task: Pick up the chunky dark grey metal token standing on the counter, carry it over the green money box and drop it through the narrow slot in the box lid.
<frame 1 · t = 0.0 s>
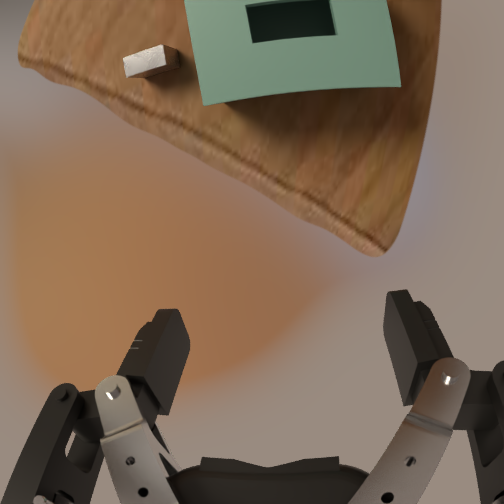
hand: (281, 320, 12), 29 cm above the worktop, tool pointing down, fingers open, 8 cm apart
money box: (289, 37, 30), on the worktop
token: (160, 63, 33), on the worktop
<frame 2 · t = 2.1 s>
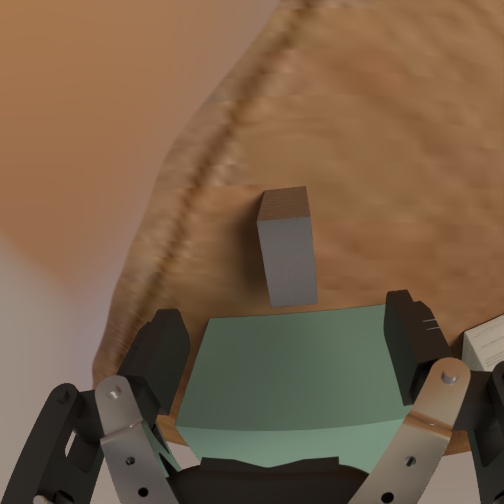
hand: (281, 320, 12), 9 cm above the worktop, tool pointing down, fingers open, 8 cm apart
money box: (306, 385, 27), on the worktop
supplement box: (490, 341, 23), on the worktop
token: (290, 225, 20), on the worktop
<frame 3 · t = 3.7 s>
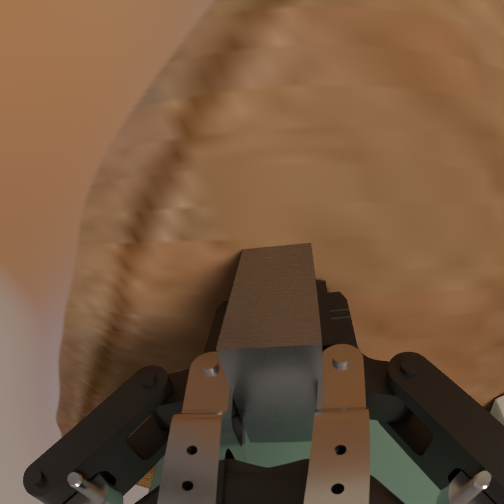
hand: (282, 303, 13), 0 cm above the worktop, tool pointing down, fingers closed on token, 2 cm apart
money box: (302, 460, 20), on the worktop
token: (284, 301, 13), on the worktop, touching gripper
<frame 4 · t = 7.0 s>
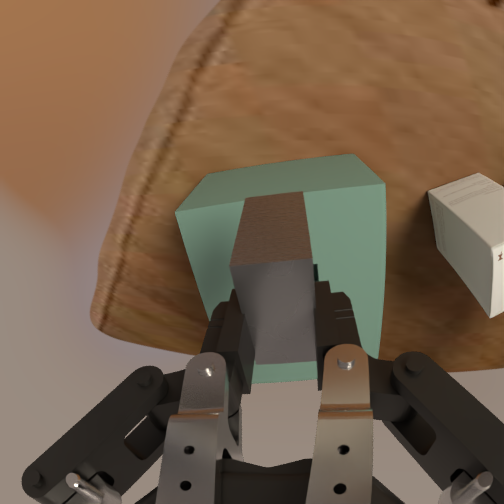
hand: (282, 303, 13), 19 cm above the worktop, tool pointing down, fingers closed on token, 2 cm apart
money box: (292, 247, 32), on the worktop
supplement box: (458, 210, 29), on the worktop
token: (281, 243, 15), point 16 cm above the worktop, tilted 5°, touching gripper
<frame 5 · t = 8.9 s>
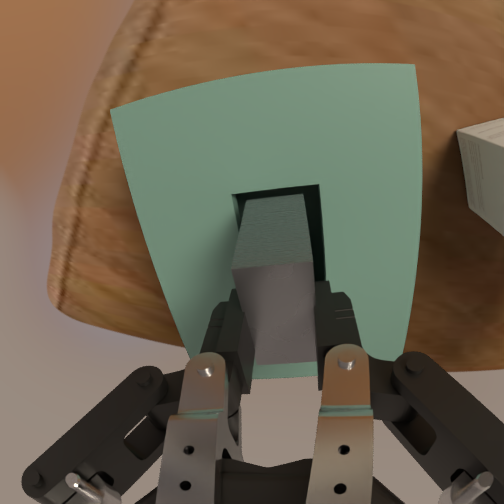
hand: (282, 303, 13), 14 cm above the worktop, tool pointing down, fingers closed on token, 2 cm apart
money box: (285, 196, 24), on the worktop
supplement box: (491, 160, 20), on the worktop
token: (281, 244, 15), point 10 cm above the worktop, tilted 6°, touching gripper
when the fingers open (12 cm above the worktop, at t = 10.3 s): token drops 7 cm, resting on money box.
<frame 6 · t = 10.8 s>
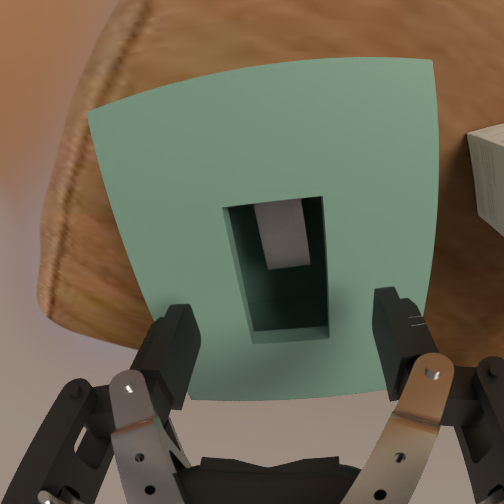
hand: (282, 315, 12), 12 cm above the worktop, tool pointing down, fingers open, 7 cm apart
money box: (284, 204, 23), on the worktop
supplement box: (502, 165, 19), on the worktop
token: (282, 198, 21), point 1 cm above the worktop, touching money box
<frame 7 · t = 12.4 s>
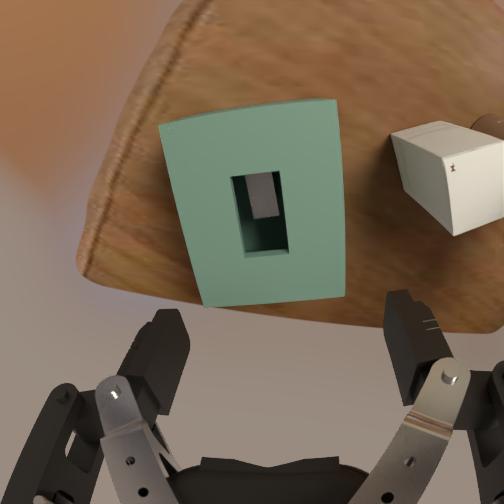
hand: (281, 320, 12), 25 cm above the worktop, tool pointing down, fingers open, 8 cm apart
money box: (265, 183, 35), on the worktop
supplement box: (422, 154, 32), on the worktop
token: (264, 178, 34), point 1 cm above the worktop, touching money box
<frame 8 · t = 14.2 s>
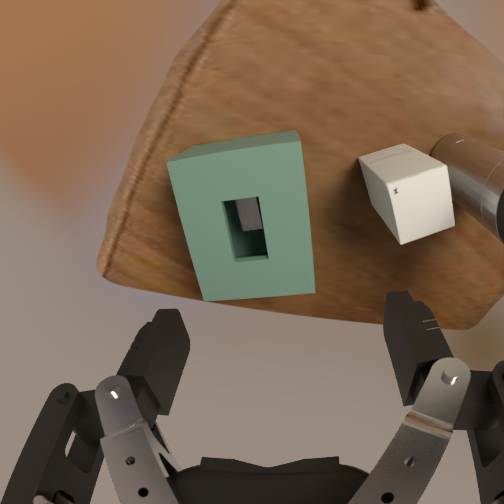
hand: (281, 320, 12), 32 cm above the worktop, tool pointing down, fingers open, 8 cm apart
money box: (254, 200, 43), on the worktop
supplement box: (387, 173, 39), on the worktop
token: (252, 197, 42), point 1 cm above the worktop, touching money box
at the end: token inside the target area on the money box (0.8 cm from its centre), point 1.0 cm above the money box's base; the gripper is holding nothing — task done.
